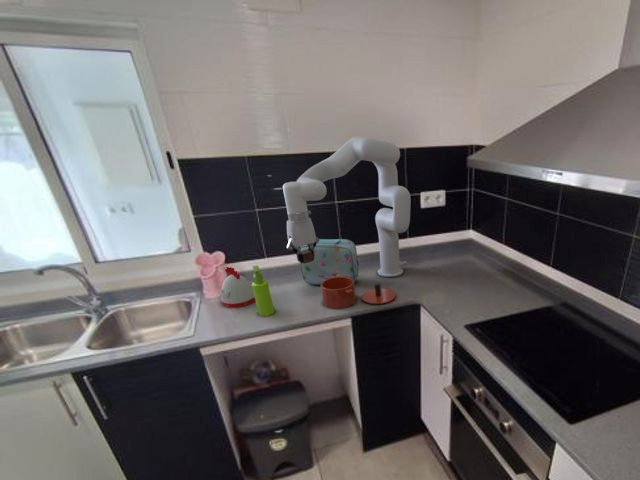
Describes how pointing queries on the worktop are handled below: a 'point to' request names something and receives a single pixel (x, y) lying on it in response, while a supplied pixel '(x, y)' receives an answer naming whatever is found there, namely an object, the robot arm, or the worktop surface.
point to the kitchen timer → (236, 290)
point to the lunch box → (331, 261)
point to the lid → (378, 295)
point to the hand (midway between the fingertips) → (306, 260)
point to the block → (307, 256)
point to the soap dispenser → (262, 294)
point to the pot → (338, 292)
